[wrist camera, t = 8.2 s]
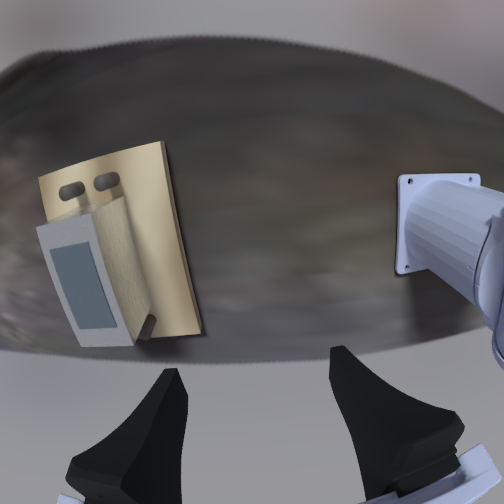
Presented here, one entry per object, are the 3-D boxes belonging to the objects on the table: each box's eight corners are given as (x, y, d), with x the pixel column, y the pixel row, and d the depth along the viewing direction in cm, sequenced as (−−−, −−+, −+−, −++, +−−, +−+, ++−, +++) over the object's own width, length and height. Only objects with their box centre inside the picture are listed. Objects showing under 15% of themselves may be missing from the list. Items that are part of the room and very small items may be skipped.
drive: (124, 195, 17) (90, 213, 13) (152, 303, 20) (133, 346, 15) (76, 207, 17) (35, 227, 12) (106, 307, 20) (80, 347, 15)
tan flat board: (164, 141, 17) (151, 141, 14) (202, 324, 22) (198, 350, 19) (46, 175, 17) (22, 181, 14) (95, 332, 22) (82, 354, 19)
